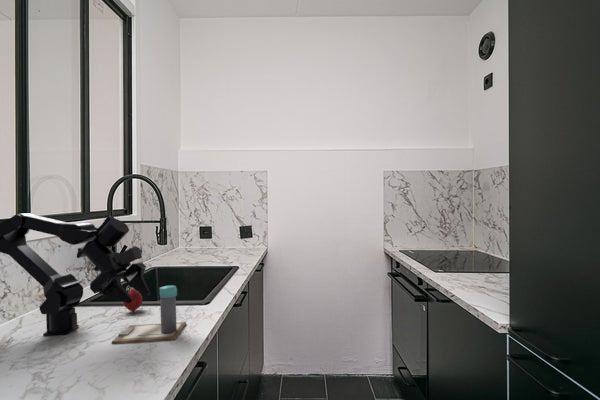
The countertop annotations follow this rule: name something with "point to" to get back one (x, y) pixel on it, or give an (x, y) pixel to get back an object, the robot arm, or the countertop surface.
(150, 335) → the clipboard
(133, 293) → the red rounded piece
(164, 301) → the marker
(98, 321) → the countertop surface
